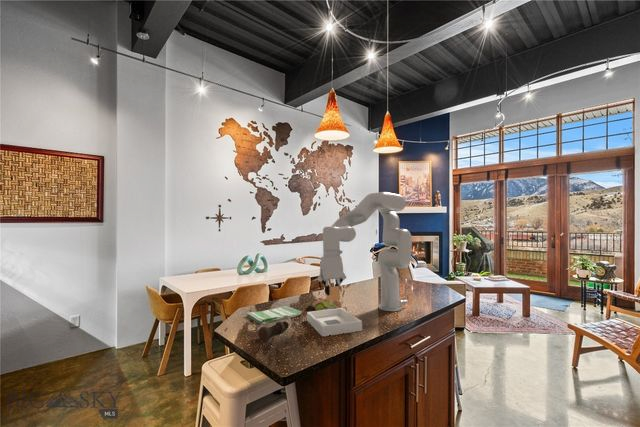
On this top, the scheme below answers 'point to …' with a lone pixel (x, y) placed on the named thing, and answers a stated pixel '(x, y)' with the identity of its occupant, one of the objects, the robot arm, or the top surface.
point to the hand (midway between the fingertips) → (332, 293)
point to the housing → (334, 321)
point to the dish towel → (273, 314)
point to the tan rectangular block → (333, 293)
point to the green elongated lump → (321, 304)
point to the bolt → (272, 330)
